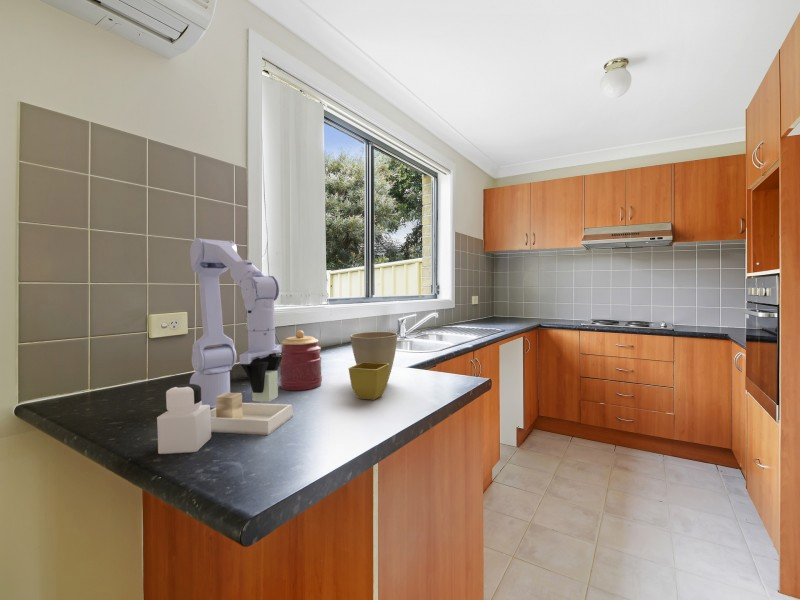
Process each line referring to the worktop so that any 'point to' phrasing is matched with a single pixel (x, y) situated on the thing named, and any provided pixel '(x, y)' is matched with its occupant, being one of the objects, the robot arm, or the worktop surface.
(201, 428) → the medicine bottle
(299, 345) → the canister
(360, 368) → the flower pot
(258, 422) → the serving tray
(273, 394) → the sage block
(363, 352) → the plant pot
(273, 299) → the robot arm
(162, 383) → the worktop surface
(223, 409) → the maple block
